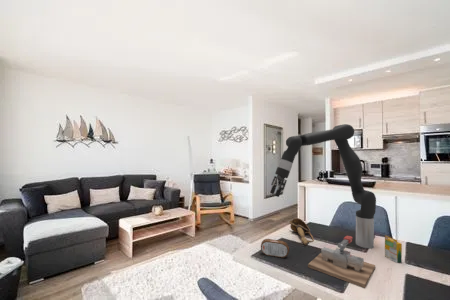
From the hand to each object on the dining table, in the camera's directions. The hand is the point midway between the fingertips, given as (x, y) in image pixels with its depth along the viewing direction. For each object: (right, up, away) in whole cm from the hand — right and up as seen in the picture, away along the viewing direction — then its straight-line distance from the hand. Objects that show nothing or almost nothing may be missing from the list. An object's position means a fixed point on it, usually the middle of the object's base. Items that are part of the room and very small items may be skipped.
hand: (274, 194), depth 129 cm
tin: (-2, -32, -8) cm, 33 cm away
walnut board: (+28, -32, -20) cm, 47 cm away
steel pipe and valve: (+28, -30, -20) cm, 46 cm away
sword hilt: (+22, -32, +17) cm, 43 cm away
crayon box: (+60, -32, -11) cm, 69 cm away
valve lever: (+33, -24, -15) cm, 43 cm away
